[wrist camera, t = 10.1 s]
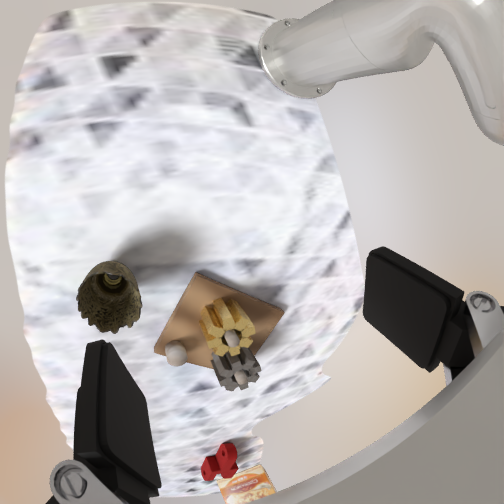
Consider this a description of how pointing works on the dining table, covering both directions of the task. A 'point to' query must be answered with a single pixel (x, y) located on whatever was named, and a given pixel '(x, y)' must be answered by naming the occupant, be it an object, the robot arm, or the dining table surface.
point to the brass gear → (226, 326)
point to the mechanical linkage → (220, 463)
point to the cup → (109, 297)
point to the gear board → (192, 316)
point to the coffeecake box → (246, 486)
